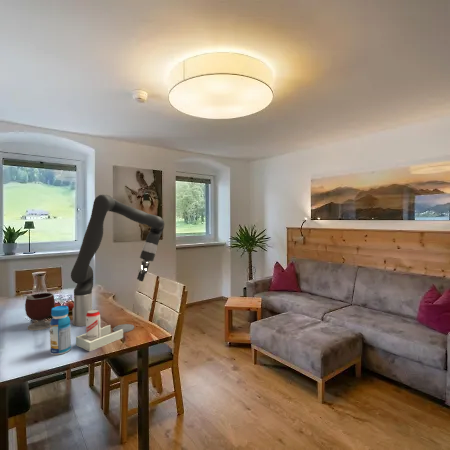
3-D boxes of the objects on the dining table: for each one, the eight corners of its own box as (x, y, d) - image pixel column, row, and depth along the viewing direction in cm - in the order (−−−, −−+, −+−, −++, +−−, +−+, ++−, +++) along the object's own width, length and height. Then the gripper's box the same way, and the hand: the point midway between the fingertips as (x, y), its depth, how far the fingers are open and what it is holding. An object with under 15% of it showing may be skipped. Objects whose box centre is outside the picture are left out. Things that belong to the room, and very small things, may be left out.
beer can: (89, 341, 143) (88, 309, 143) (102, 340, 144) (102, 308, 143) (84, 347, 137) (83, 313, 136) (98, 346, 138) (97, 313, 137)
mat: (109, 332, 154) (109, 331, 154) (118, 324, 165) (118, 323, 165) (129, 333, 153) (129, 332, 153) (137, 325, 164) (137, 324, 164)
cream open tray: (89, 351, 133) (89, 342, 133) (76, 345, 139) (75, 337, 139) (123, 337, 148) (123, 329, 147) (109, 332, 154) (109, 324, 154)
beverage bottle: (69, 354, 130) (68, 309, 130) (47, 356, 128) (46, 311, 127) (73, 345, 138) (72, 304, 138) (53, 348, 136) (52, 305, 135)
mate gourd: (46, 319, 172) (46, 286, 171) (60, 324, 165) (59, 289, 164) (17, 328, 159) (16, 292, 158) (30, 334, 152) (29, 296, 151)
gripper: (140, 249, 167) (131, 277, 164) (144, 249, 154) (134, 279, 151) (153, 253, 170) (144, 281, 166) (157, 253, 157) (148, 283, 153)
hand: (139, 280), depth 159 cm, fingers open, 8 cm apart
